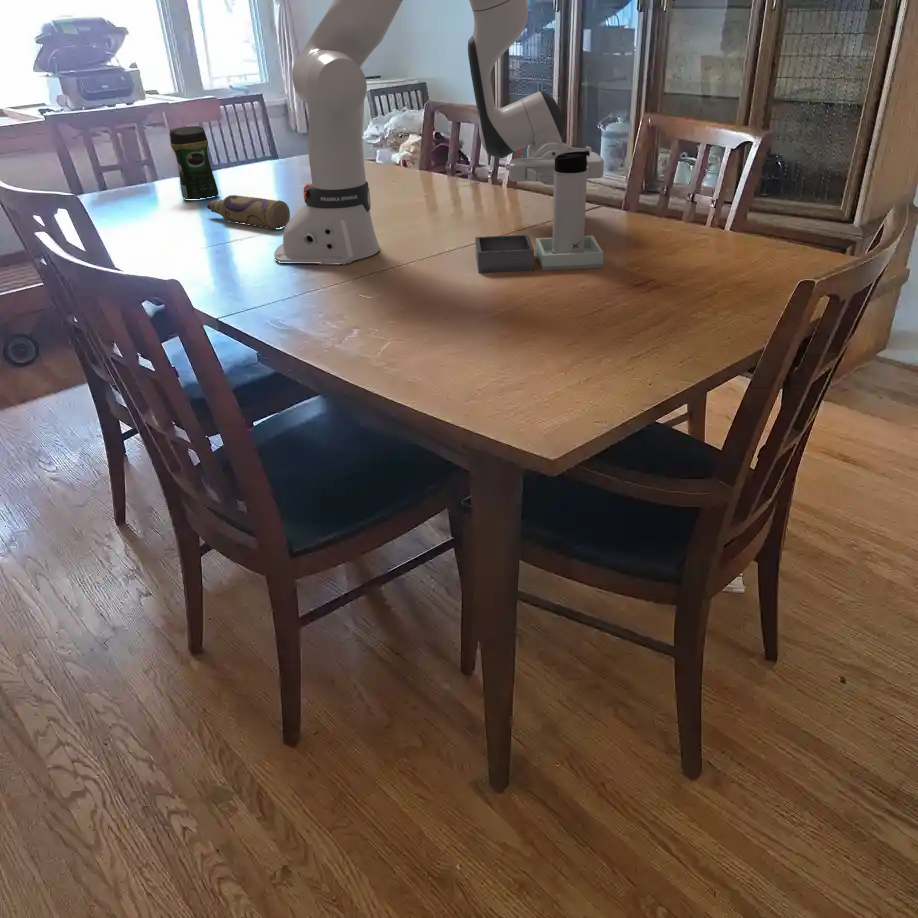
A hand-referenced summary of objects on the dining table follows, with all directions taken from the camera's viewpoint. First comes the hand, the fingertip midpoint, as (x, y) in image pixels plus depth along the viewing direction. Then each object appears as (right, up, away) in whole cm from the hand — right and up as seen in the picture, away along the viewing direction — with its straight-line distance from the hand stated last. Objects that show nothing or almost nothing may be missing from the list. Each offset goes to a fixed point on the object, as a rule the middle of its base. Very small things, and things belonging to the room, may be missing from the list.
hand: (560, 176), depth 164 cm
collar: (-12, -19, -3) cm, 22 cm away
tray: (+1, -18, -3) cm, 18 cm away
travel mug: (+1, -18, -3) cm, 18 cm away
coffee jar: (-93, +14, +57) cm, 110 cm away
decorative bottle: (-72, 0, +32) cm, 79 cm away
